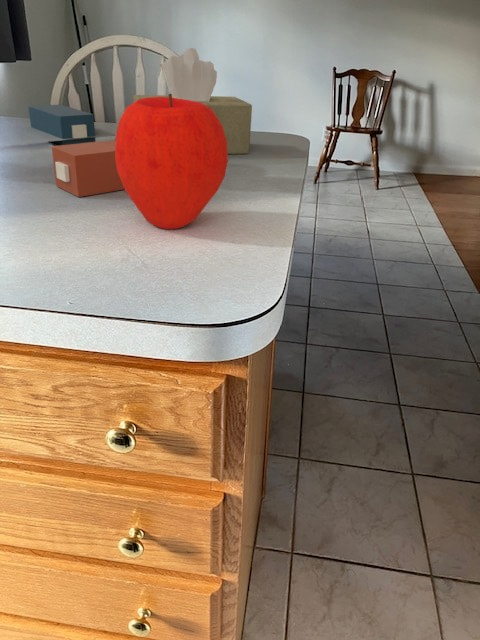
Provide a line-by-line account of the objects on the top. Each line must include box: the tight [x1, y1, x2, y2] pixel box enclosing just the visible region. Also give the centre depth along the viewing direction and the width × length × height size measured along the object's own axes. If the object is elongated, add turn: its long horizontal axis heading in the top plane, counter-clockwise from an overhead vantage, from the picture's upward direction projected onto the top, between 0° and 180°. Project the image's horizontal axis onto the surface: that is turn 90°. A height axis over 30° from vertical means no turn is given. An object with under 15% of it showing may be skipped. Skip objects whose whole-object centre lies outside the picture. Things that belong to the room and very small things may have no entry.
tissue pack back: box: [28, 104, 96, 146], centre depth 94 cm, size 13×6×5 cm, turn 42°
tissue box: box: [132, 47, 253, 155], centre depth 91 cm, size 19×10×16 cm, turn 107°
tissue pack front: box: [51, 139, 125, 198], centre depth 71 cm, size 13×6×5 cm, turn 132°
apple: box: [115, 93, 229, 230], centre depth 57 cm, size 12×12×13 cm
